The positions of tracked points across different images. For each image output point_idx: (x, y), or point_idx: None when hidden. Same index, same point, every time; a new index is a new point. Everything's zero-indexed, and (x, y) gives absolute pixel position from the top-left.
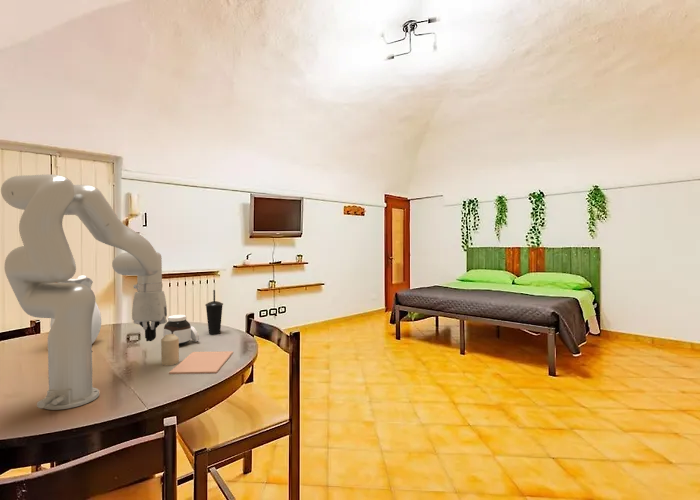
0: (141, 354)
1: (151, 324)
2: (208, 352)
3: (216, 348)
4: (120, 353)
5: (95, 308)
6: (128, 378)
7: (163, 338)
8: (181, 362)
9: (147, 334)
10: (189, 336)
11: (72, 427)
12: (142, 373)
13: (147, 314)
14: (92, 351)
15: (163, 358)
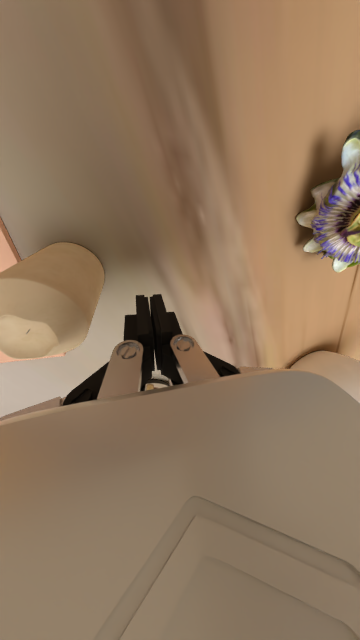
0: (198, 336)
1: (133, 374)
2: (2, 356)
3: (26, 387)
4: (241, 338)
5: None
6: (137, 28)
7: (51, 304)
8: (9, 257)
9: (157, 313)
10: None
11: None
12: (108, 132)
13: (178, 552)
14: (341, 232)
15: (75, 252)
